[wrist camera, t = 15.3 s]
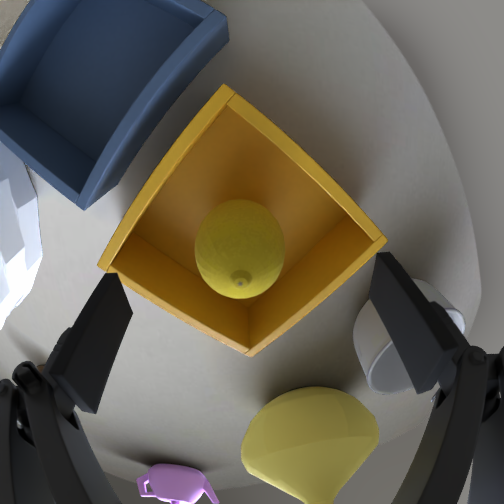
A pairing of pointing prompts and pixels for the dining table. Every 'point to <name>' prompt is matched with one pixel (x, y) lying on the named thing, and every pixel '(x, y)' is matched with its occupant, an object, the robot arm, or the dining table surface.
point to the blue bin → (98, 83)
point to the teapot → (175, 484)
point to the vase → (309, 442)
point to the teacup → (390, 345)
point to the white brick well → (17, 233)
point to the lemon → (239, 248)
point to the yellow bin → (231, 188)
